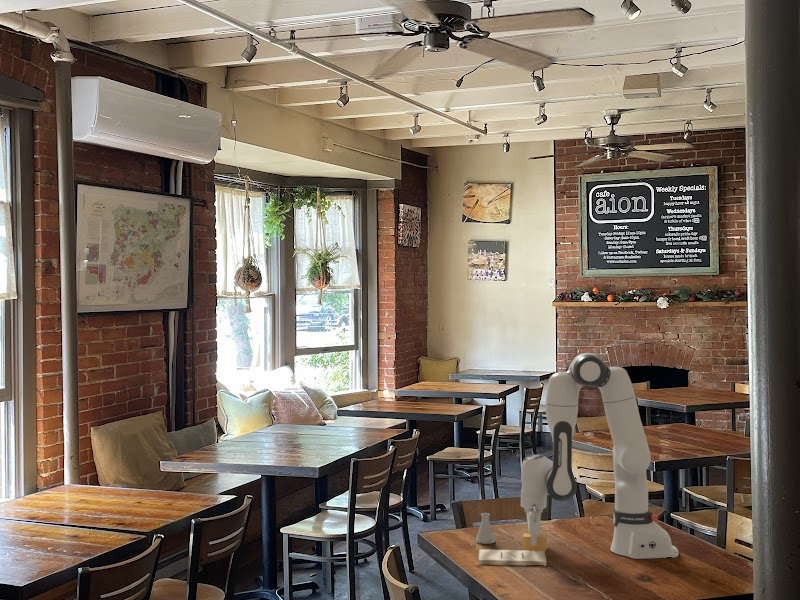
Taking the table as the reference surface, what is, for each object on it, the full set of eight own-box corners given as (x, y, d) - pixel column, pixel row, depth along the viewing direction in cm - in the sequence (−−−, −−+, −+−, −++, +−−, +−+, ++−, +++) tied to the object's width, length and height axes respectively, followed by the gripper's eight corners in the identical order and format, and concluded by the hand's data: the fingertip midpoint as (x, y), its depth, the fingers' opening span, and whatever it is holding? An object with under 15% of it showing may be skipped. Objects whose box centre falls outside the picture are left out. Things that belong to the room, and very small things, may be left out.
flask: (494, 545, 329) (494, 517, 328) (474, 544, 330) (474, 516, 330) (496, 539, 336) (496, 511, 336) (476, 538, 337) (476, 511, 337)
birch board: (544, 555, 316) (544, 550, 316) (546, 565, 304) (546, 561, 304) (479, 553, 318) (479, 549, 318) (478, 564, 306) (478, 559, 306)
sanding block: (546, 548, 325) (546, 533, 325) (546, 551, 321) (546, 537, 320) (523, 547, 326) (522, 533, 326) (522, 551, 322) (522, 536, 322)
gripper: (544, 509, 312) (544, 550, 313) (541, 495, 333) (540, 533, 333) (525, 508, 313) (525, 549, 313) (523, 494, 333) (523, 533, 334)
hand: (533, 541), depth 323 cm, fingers open, 8 cm apart
